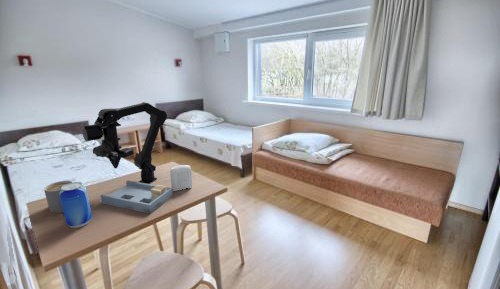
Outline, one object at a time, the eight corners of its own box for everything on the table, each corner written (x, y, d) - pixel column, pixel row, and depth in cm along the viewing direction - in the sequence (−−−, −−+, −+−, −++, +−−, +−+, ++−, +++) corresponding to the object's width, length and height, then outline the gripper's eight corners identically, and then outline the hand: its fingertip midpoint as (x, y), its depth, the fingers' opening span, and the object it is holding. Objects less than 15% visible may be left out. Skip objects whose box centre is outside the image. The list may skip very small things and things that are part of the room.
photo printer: (191, 184, 131) (189, 162, 128) (193, 188, 128) (191, 165, 124) (170, 188, 127) (168, 165, 123) (172, 192, 123) (170, 168, 119)
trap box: (128, 187, 127) (127, 180, 126) (172, 195, 120) (172, 188, 119) (102, 203, 113) (100, 195, 112) (150, 213, 105) (149, 205, 104)
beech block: (158, 192, 119) (157, 184, 118) (167, 194, 117) (166, 186, 116) (151, 197, 114) (150, 189, 113) (160, 199, 113) (160, 191, 112)
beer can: (64, 231, 94) (55, 192, 89) (69, 219, 101) (61, 183, 96) (90, 226, 97) (82, 188, 92) (93, 214, 104) (86, 179, 100)
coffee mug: (46, 206, 110) (41, 186, 107) (73, 198, 117) (69, 178, 114) (54, 218, 101) (49, 196, 98) (83, 208, 108) (78, 187, 105)
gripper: (79, 139, 111) (85, 172, 116) (113, 143, 106) (118, 177, 111) (100, 133, 121) (105, 163, 126) (132, 136, 116) (136, 168, 121)
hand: (115, 168), depth 121 cm, fingers closed
